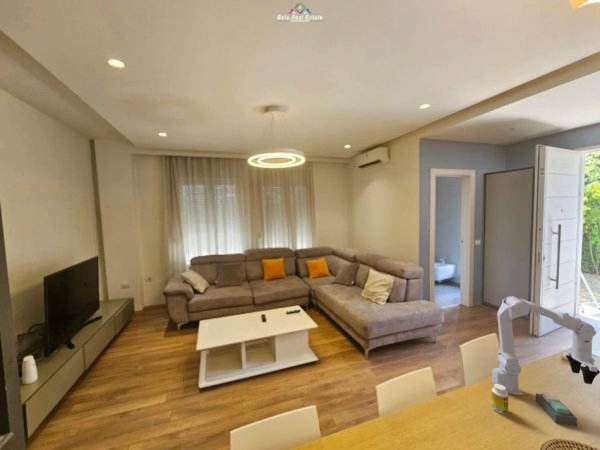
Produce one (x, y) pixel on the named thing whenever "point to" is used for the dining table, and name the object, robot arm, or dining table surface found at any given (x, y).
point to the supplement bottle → (500, 399)
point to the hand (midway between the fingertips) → (581, 377)
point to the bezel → (551, 411)
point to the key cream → (550, 397)
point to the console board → (554, 420)
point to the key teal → (559, 407)
